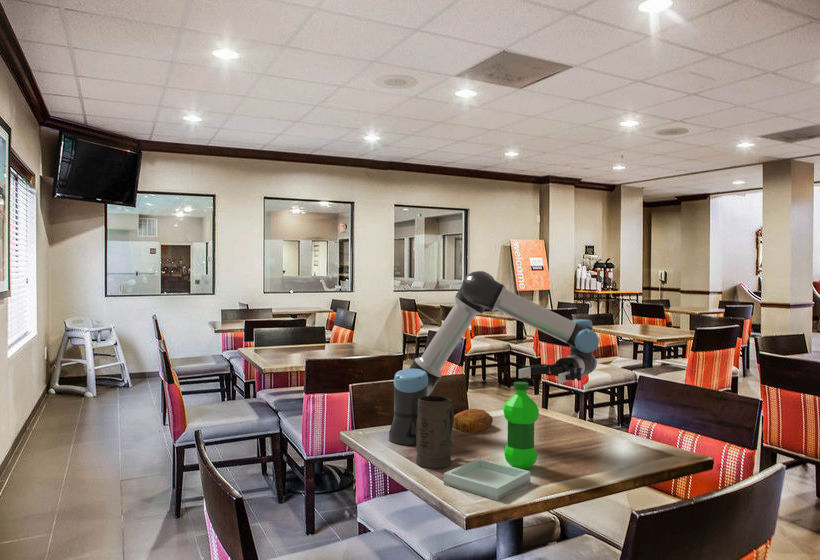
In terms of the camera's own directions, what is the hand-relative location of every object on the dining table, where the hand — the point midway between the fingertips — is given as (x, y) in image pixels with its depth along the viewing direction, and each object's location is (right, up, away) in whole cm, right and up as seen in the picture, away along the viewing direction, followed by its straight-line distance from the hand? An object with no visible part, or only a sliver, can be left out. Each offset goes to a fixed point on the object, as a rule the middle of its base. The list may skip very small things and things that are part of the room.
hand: (538, 376), depth 178 cm
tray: (-19, -26, -21) cm, 38 cm away
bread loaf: (-17, -26, +37) cm, 48 cm away
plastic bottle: (-7, -26, -7) cm, 28 cm away
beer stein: (-32, -26, -2) cm, 41 cm away
